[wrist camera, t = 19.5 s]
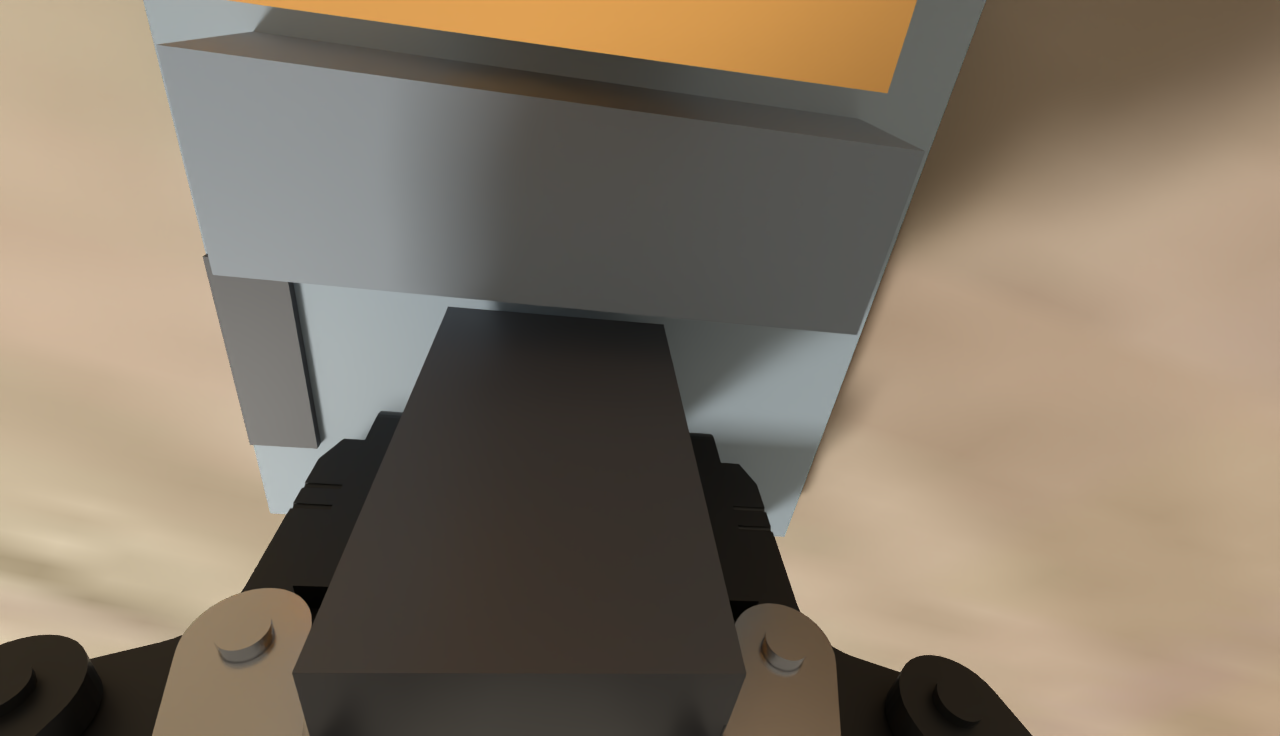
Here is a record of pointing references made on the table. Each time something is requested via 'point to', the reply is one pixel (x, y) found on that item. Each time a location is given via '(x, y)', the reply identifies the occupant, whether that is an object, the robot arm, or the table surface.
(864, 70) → the orange plug
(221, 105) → the comb board
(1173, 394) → the table surface
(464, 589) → the black plug
